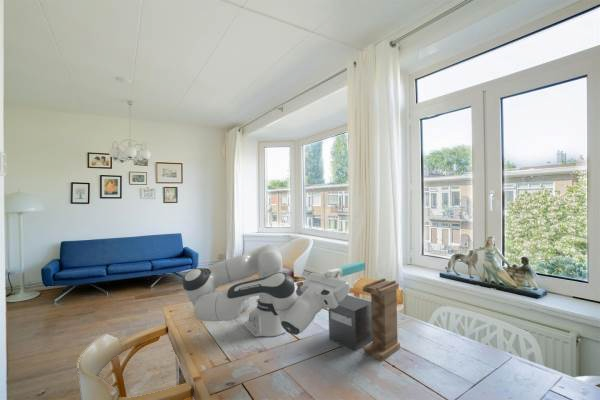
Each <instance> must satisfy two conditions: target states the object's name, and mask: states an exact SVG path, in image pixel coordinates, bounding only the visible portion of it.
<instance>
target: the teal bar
mask: <svg viewBox="0 0 600 400" xmlns="http://www.w3.org/2000/svg"><path fill="white" fill-rule="evenodd" d="M365 270H366V262H363V261H359V262H353V263H350V264H347V265H343V266H339V267H336V268H332V269H329V270H326V273H327V277H331V278H336V277H337V275H336V274H337V273H338V272H342V274H343V275H342V277H346V276H349V275H352V274H355V273H358V272H361V271H365ZM342 277H341V278H342Z"/></svg>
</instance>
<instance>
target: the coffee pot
mask: <svg viewBox="0 0 600 400" xmlns="http://www.w3.org/2000/svg"><path fill="white" fill-rule="evenodd" d="M309 274H310V273H308V275H309ZM308 275H307V276H308ZM303 282H304V281H299V282H296V287H297V288H296V289H295V291H296V294H297V295H298V296H301V295H302V294H303V293H304V292H301V290H300V287H301V286H302V285H303Z"/></svg>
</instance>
